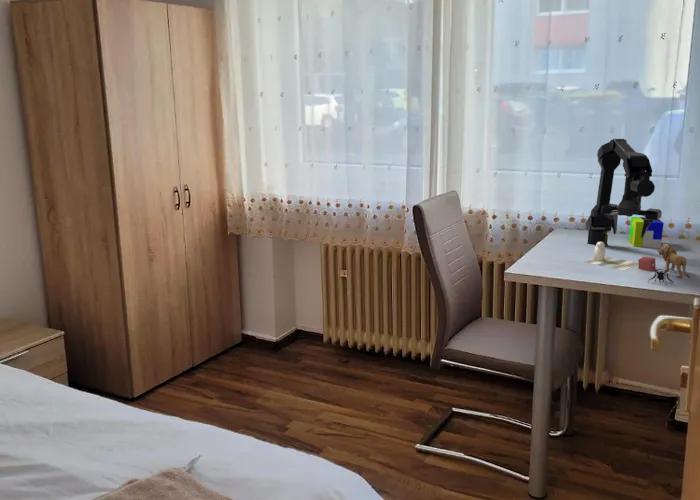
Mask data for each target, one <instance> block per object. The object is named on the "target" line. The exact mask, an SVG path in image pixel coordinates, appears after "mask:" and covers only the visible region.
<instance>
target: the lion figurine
mask: <svg viewBox="0 0 700 500" xmlns="http://www.w3.org/2000/svg"><path fill="white" fill-rule="evenodd" d="M657 252H658V255H659V256H661V258H663V260H664V262H665V266H666V268H665V269H664V271H663V272H665V271H667V270H669V269H670V270H669V271H673V272H674V271H675V268H676V270H677V272H678V274H679V275H677V277H678V279H679V278H680V279H681V278H682V277H683V276H686V277H687V278H689V279H690V278H691V276H690V275H689V274H688V273H687V271H686V267H687V259H686V257H685V256H683V255H679V254H677V250H676V249H675V248H674V247H673V246H671V244H667V243H664V244H662V246H661V248H658V250H657ZM670 265H671V268H672V269H671V268H670ZM681 267H682V269H681ZM667 272H668V271H667Z"/></svg>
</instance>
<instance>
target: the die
mask: <svg viewBox="0 0 700 500" xmlns="http://www.w3.org/2000/svg"><path fill="white" fill-rule="evenodd" d="M637 261H638V262H637V263H638V265H637V266H638V270H642V271H643V270H644V271H648V272H652V271H655V270H656V257H649V256H642V257H641V258H639V259H638V260H637ZM651 266H652V267H653V268H654V269H655V270H654V269H653V268H652V267H651Z"/></svg>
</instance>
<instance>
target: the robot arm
mask: <svg viewBox="0 0 700 500" xmlns="http://www.w3.org/2000/svg"><path fill="white" fill-rule="evenodd" d="M596 155H597V163H598V164H599V166H600V175H599V176H600V177H599V183H598V190H597V196H596V197H597V198H596V204H595V205H594V207H593V208H592V209H591V211H590V214H589V216H588V218H587V220H586V222H585V226H584V227H585V230H586V231H588V233H587V243H585V244H587V245H590V246H591V245H593V246H596V244H597V243H598V242H603V243H604V244H605V247H607V246H608V245H609V244H608V239H609V235H608V232H611V230H612V231H613V234H614V235H616V234H617V230H618V218H619V217H620V216H626V217H628V218H629V217H630V218H631V217H633V215H635V216H641V217H642V216H643V217H646V219H644V220H643V221H644V224H643V229H642V233H641V238H643V237H644V235H645V233H646V231H647V229H648V227H649V226H650V224H651V223H652V222H653V221H655V220H658V219H661V218H662V213H663V212H662V210H661V209H658V208H647V209H646V210H644V209H642V198H643V197H644V198H645V197H646V198H647V197H649V196H651V195H652V194H654V192H655V189H656V186H655V184H654V182H653V181H652V180H651V177H653V168H652V164H651V162H650V159H649V157H648V156H647V155H646V154H645V153H642V152H637V151H636V150H634V148H632V147H631V145H630V144H629V143H628V142H627V139H624V138H612V139H611V140H610V141H608V142H606V143H604V144H602V145H601V146H600V147H599V148H598V150H597V154H596ZM621 161H622V167H623V170H624V172H625V173H624V177H625V179H624V180H625V181H624V189H623V195H622V197H621V198H622V199H621V201H619V203H618V204H616V203H611V196H612V188H613V183H614V176H615V175H614V174H615V170H616V169H617V168H618V167H619V166H620V165H621Z"/></svg>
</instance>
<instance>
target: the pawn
mask: <svg viewBox="0 0 700 500" xmlns="http://www.w3.org/2000/svg"><path fill="white" fill-rule="evenodd" d="M606 247H607V246H605V244H604V243H603V242H598V243H597V244H596V245H594V253H593V254H594V255H593V259H594V260H595V261H604V260H605V256H606Z"/></svg>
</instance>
